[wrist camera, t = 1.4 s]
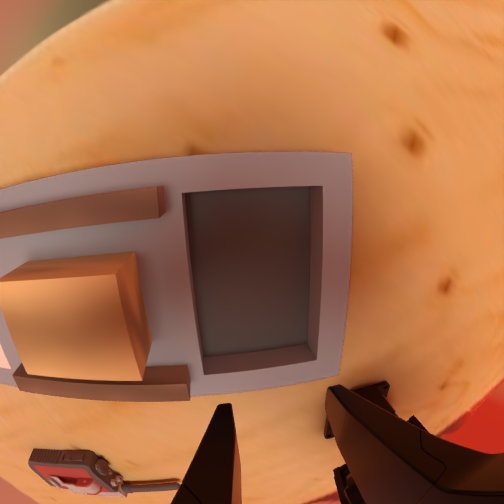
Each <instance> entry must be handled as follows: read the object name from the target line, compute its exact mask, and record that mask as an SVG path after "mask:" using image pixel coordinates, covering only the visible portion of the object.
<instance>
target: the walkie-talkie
mask: <svg viewBox="0 0 504 504" xmlns="http://www.w3.org/2000/svg"><path fill="white" fill-rule="evenodd" d="M28 464H29V466H30V468H31V469H32V470H33V471H35V472H36V473H37V474H38V475H39V476H40V477H41V478H42V479H44V480H45V481H46V482H47V483H48V484H49V485H51V486H55V487H57V488H58V489H60V488H64V489H70V490H71V491H72V492H74V493H79V494H85V493H87V494H89V495H99V496H112V497H127V493H133V492H151V491H168V490H178V489H179V487H180V485H179V483H176V482H173V483H161V484H145V485H131V484H124V483H123V482H122V481H123V478H122V476H119V475H117V474H116V473H115V472H114V471H113V470H112V469H110V468H109V466H108V464H107V462H106V461H105V460H103V459H100V458H99V457H98V456H97V455H96V454H95V453H94V452H93V451H90V450H52V449H51V450H50V449H49V450H47V449H46V450H45V449H33V451H32V454H31V456H30V458H29V462H28Z"/></svg>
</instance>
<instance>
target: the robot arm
mask: <svg viewBox="0 0 504 504" xmlns="http://www.w3.org/2000/svg"><path fill="white" fill-rule="evenodd" d="M389 387H390V385H389V383H388V382H382V383H379V384H376V385H373V386H369V387H366V388H362V389H359V390H355V391H351V390H349V389H347V388H345V387H344V386H342V385H334V386H330V387H328V389H327V393H326V400H325V410H326V413H327V421H326V426H325V431H324V437H325V438H326V439H329V438H333V437H335V440H336V443H337V446H338V448H339V450H340V452H341V454H342V456H343V458H344V460H345V462H346V464H344V465H342V466H341V467H337V468H335V469H334V470H333V472H334V475H335V476H334V479H335V483H336V486H337V490H338V494H339V498H340V502H341V504H504V453H499V454H488V453H483V452H479V451H476V450H473V449H470V448H467V447H463V446H460V445H458V444H455V443H452V442H449V441H446V440H444V439H441V438H439V437H437V436H435V435H433V434H430V433H429V432H428V431H427V430H426V429H425V427H424V426H423V425H422V424H421V423H420V422H419V421H418V419H417V418H416V417H415V416H414V415H413V416H412V417H410V418H409V420H408V421H405V420H403V419H401V418H399V417H398V416H397V414H396V413H395V412H396V411H395V410H394V408H393V407H392V406H391V404H390V403H389V402H388V401H387V399H386V397H387V393H388V390H389ZM171 504H242V499H241V464H240V457H239V450H238V443H237V436H236V429H235V422H234V416H233V410H232V404H230V403H226V404H219V405H218V406H217V408H216V410H215V412H214V414H213V417H212V419H211V421H210V423H209V425H208V428H207V430H206V432H205V434H204V436H203V438H202V441H201V443H200V445H199V447H198V449H197V451H196V453H195V456H194V458H193V460H192V462H191V464H190V466H189V468H188V470H187V472H186V475H185V477H184V479H183V481H182V484H181V485H180V487H179V489H178V491H177V493H176V495H175V497H174V498H173V500H172V502H171Z"/></svg>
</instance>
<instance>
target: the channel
mask: <svg viewBox="0 0 504 504" xmlns="http://www.w3.org/2000/svg"><path fill="white" fill-rule="evenodd" d="M164 213H165V207H164V194H163V186H154V187H145V188H137V189H129V190H121V191H114V192H107V193H100V194H93V195H87V196H80V197H74V198H68V199H63V200H57V201H52V202H46V203H41V204H36V205H31V206H26V207H22V208H17V209H12V210H8V211H4V212H0V239H3V238H9V237H15V236H21V235H28V234H34V233H41V232H48V231H55V230H62V229H69V228H77V227H85V226H92V225H101V224H109V223H118V222H127V221H136V220H146V219H156V218H160V217H161V216H162V215H163V214H164ZM12 376H13V378H14V380H15V382H16V384H17V386H18V388H19V390H20V391H25V392H31V393H37V394H44V395H51V396H59V397H68V398H77V399H89V400H104V401H130V402H163V401H190V385H191V381H190V376H189V371H188V367H187V365H176V366H150V367H145V371H144V375H143V380H142V381H109V380H85V379H70V378H58V377H48V376H39V375H31V374H27V372H26V370H25V368H24V366H23V364H22V363H21V364H20V365H19V367H18V368H17V369H16V371H15V372H14V373H13V375H12Z"/></svg>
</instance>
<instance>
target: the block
mask: <svg viewBox="0 0 504 504" xmlns="http://www.w3.org/2000/svg"><path fill="white" fill-rule="evenodd" d="M0 306H1V309H2V312H3V315H4V318H5V321H6V324H7V327H8V329H9V332H10V335H11V337H12V340H13V342H14V345H15V347H16V350H17V352H18V355H19V357H20V359H21V361H22V364H23V366H24V368H25V370H26V372H27V374H31V375H39V376H48V377H58V378H70V379H85V380H109V381H142V380H143V375H144V371H145V367H146V363H147V360H148V356H149V352H150V348H151V344H152V339H151V335H150V330H149V326H148V321H147V316H146V312H145V307H144V302H143V296H142V291H141V285H140V280H139V274H138V268H137V261H136V255H135V251H131V252H120V253H109V254H98V255H88V256H77V257H67V258H57V259H46V260H36V261H27V262H26V263H24V264H22V265H21V266H19V267H17V268H16V269H14V270H12V271H11V272H9V273H8V274H6V275H4V276H3V277H1V278H0Z"/></svg>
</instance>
